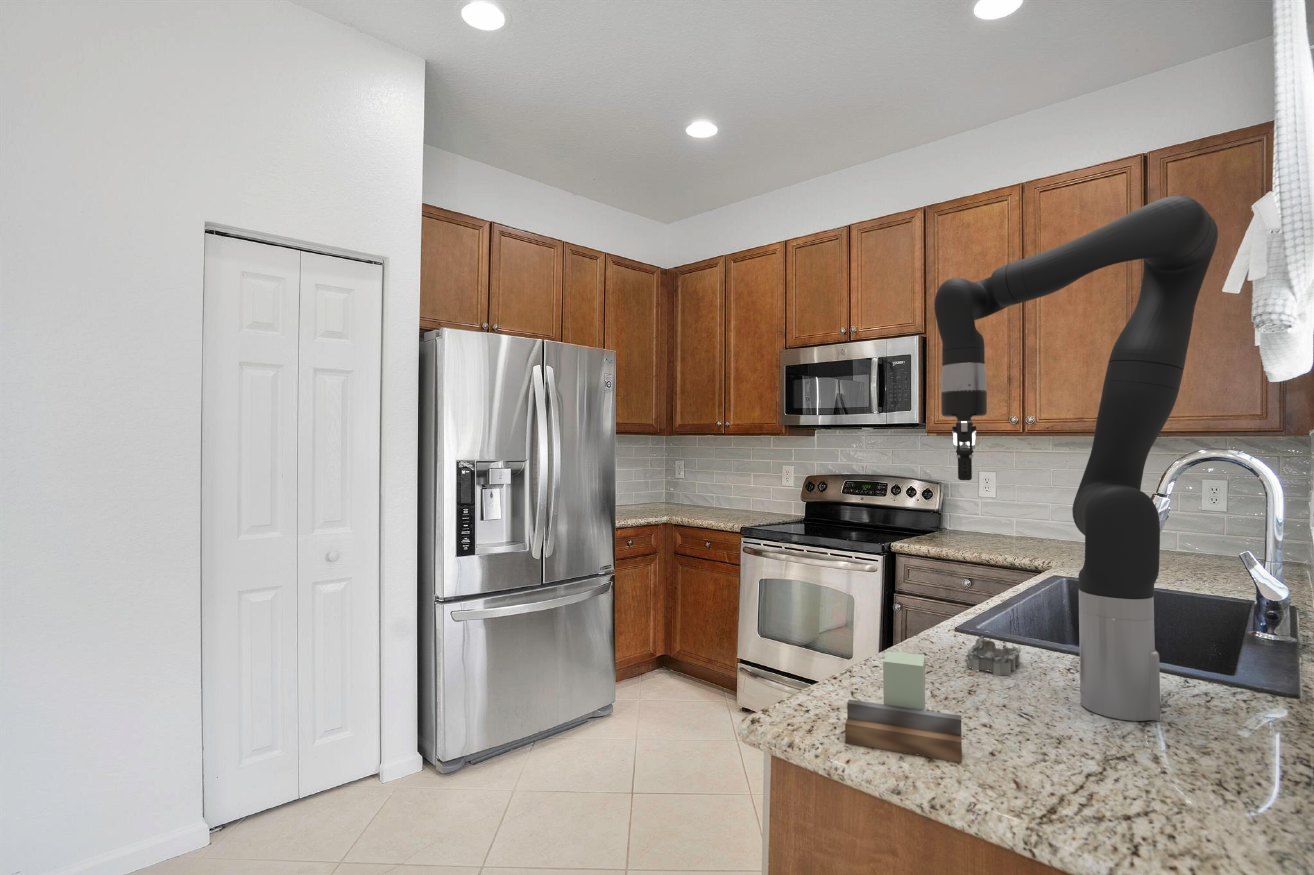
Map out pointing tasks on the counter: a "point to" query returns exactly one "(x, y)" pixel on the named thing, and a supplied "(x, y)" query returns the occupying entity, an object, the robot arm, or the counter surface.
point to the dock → (904, 730)
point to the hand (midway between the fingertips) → (964, 479)
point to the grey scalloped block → (993, 657)
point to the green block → (904, 680)
